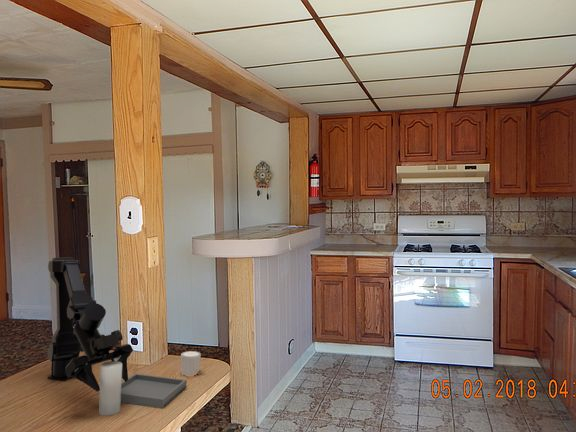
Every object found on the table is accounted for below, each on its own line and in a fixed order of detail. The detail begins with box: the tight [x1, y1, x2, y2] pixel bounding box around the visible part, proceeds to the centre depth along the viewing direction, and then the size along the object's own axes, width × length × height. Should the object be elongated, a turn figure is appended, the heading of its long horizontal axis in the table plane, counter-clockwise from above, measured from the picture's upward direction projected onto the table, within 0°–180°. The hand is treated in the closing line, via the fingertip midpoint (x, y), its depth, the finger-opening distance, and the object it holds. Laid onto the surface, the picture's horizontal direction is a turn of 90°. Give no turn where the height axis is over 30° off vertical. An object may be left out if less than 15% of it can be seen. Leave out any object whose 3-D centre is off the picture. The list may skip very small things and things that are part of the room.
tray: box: [121, 373, 187, 409], centre depth 141 cm, size 18×16×2 cm
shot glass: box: [180, 350, 202, 376], centre depth 160 cm, size 7×7×7 cm
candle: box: [98, 360, 123, 417], centre depth 128 cm, size 6×6×13 cm
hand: (113, 385), depth 128 cm, fingers open, 9 cm apart
